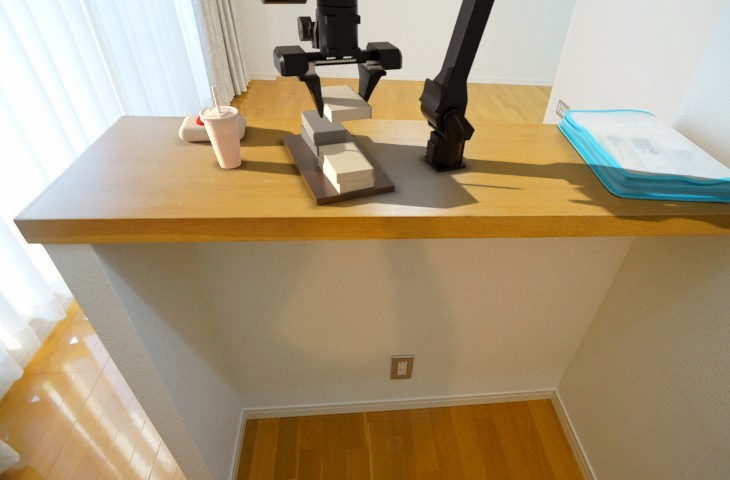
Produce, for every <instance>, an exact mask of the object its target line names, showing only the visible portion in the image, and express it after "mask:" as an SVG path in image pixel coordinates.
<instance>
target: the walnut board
mask: <svg viewBox="0 0 730 480" xmlns="http://www.w3.org/2000/svg"><path fill="white" fill-rule="evenodd" d="M345 129H346V141H347V142H353V143H354V144H355V145H356V146H357V148H358V149H359V150H360V151H361V153H362V154H363V155H364V157H365V158H366V159H367V160H368V162H369V163H370V164H371V165H372V167H373V168H374V176H375V187H371V188H366V189H361V190H356V191H351V192H346V193H341V194H340V193H339V192H338V191H337V189H336V188H335V187H334V185H333V184H332V183H331V181H330V180H329V179H328V177H327V176H326V175H325V174H324V172H323V171H322V170H321V168H320V167H319V166H318V158H317V157H316V155H315V154H314V153H313V151H312V150H311V149H310V147H309V146H308V144H307V143H306V142H305V140H304V139H303V138H302V133H297V134H288V135H281V142H282V144H283V146H284V148H285V150H286V151H287V153H288V155H289V157H290V158H291V160H292V162H293V164H294V166H295V167H296V170H297V171H298V173H299V175H300V177H301V179H302V180H303V182H304V184H305V186H306V188H307V190H308V191H309V194H310V195H311V197H312V199H313V201H314V203H315V204H316V206H320V205H326V204H332V203H336V202H343V201H348V200H353V199H359V198H365V197H370V196H375V195H381V194H386V193H393V192H395V190H396V189H395V187H396V186H395V184H394V182H392V180H391V179H390V178H389V177H388V176H387V175H386V173H385V172H384V171H383V170H382V169H381V167H379V165H378V164H377V163H376V161H375V160H374V159H373V158H372V157H371V156H370V155H369V153H368V152H367V151H366V150H365V149H364V148H363V146H362V145H361V144H360V143H359V142H358V140H357V139H356V138H355V137H354V136H353V134H352V133H351V132H350V131H349V130H348V129H347V128H345Z"/></svg>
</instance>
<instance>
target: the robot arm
mask: <svg viewBox="0 0 730 480" xmlns="http://www.w3.org/2000/svg"><path fill="white" fill-rule="evenodd" d="M260 1H261V3H262V5H306V4H307V2H308V0H260ZM495 1H496V0H462V1H461V4H460V7H459V10H458V13H457V17H456V21H455V22H454V23H455V24H454V27H453V30H452V33H451V37H450V40H449V43H448V46H447V49H446V52H445V56H444V59H443V62H442V65H441V69H440V71H439V72H438V73H437V75H436V76H435V77H434V78H433V79H431V78H428V77H426V78H425V80H424V84H423V90H422V93H421V95H420V97H419V98H418V101H419V103H420V112H421V115H422V116H423V117H424V119H426V122H427V126H429V127H430V128H431V129H433V130H430V134H429V139H428V140H427V143H426V151H425V154H424V155H423V159H424V160H425V161H426V162H427V163H428V164H429V165H430V166H431V167H432V168H433V169H434V170H436V172H445V171H452V170H456V169H463V168H466V167H467V163H466V162H465V161H463V160H464V159H463V158H464V153H465V147H466V142H467V141H470V140H471V139H472V137H473V135H474V133H475V131H476V129H475V127H474V126H473V125H472V124H471V123H470V121H469V120H468V119H467V118H466V117H465V116H466V112H467V107H468V102H469V96H468V95H469V94H468V79H469V76H470V73H471V70H472V68H473V65H474V61H475V58H476V56H477V53H478V51H479V47H480V44H481V41H482V39H483V35H484V33H485V30H486V27H487V24H488V21H489V18H490V15H491V13H492V9H493V7H494V4H495ZM358 3H359V0H316V8H315V20H314V21H312V17H311V16H310V15H306V16H305V15H304V16H303V15H302V16H298V17H297V19H296V21H297V31H298V38H299V41H300V42H310V43H311V48H312V49H316V50H319V51H305V50H304V48H302V47H301V46H300V45H299V44H298V45H276V46H275V47H274V48H273V50H272V58H273V67H274V68H275V69H276V70H277V72H278V74H279V75H280V76H281V77H284V78H291V77H292V78H293V77H296V79H297V80H298V81H299V82H301V83H304V84H305V86H306V88H307V89H308V92H309V94H310V97H311V99H312V102H313V104H314V107H315V110H317V112H318V114H319V116H320V118H323V101H322V92H321V87H322V83H321V76H319V75H318V73H316V67H326V66H327V67H329V66H340V65H342V66H344V65H357V72H358V76H359V77H358V91H357V93H358V94H359V95H360V96H361V97H362V98H363V99H364V100H365V101H366V102H367V103H368V104H369V101H370V98H371V96H372V94H373V92H374V90H375V89H376V87H377V85H378V83H379V82H380V80H381V78H382V77H386V76H387V73H388V72H387V71H395V70H396V71H397V70H401V69H402V68H403V54H402V53H403V52H402V51H401V49H400V48H399V47H397V46H396V45H394V44H392V43H391V42H389V41H372V42H371V41H370V42H367V44H366V45H365V49H362V48H361V47H360V46H359V25H361V21H362V19H361V18H362V17H361V15H360V14H359V4H358Z"/></svg>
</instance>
